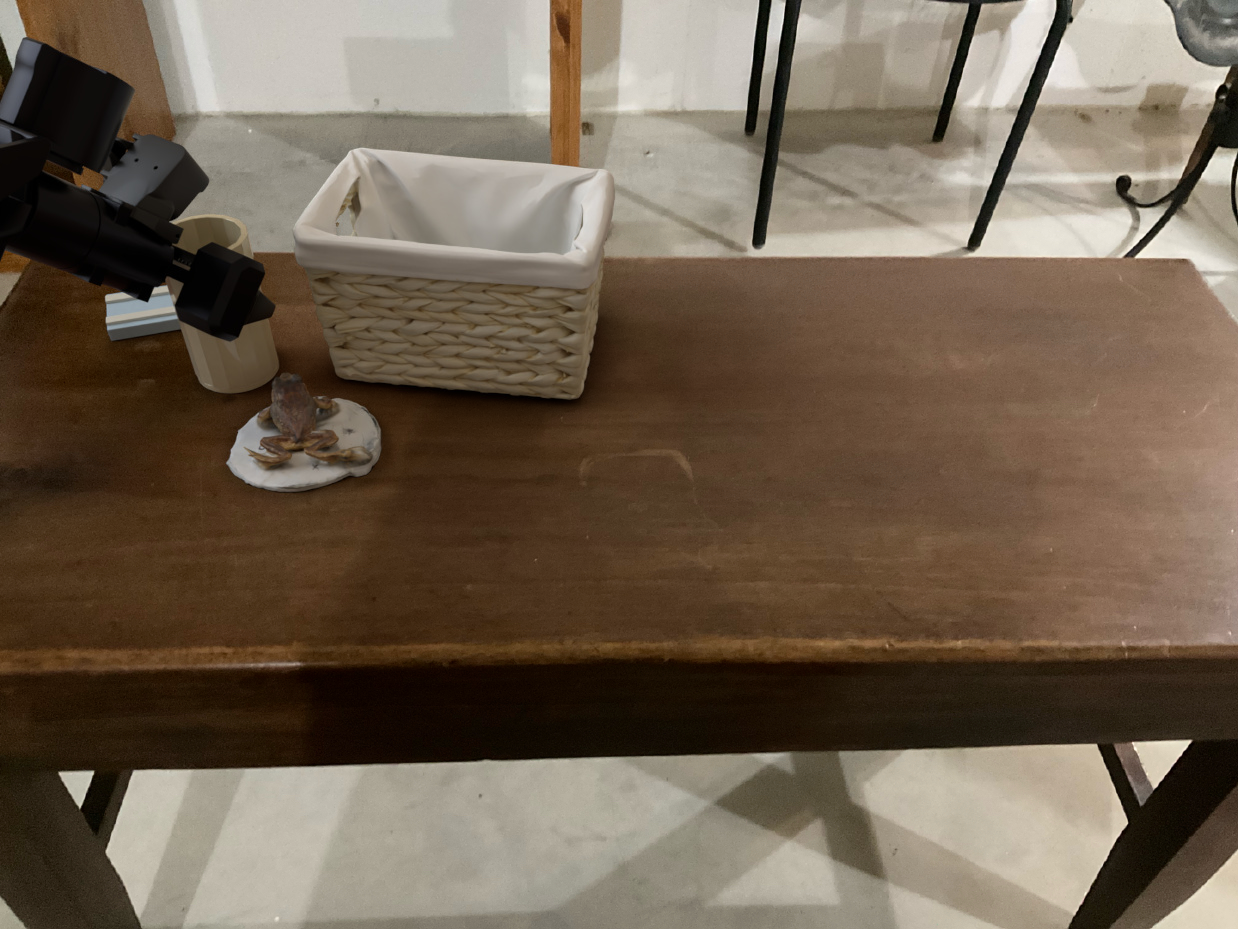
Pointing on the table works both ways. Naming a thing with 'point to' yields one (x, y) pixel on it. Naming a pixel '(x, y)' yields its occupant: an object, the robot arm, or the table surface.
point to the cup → (255, 348)
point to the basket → (459, 270)
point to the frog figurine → (304, 440)
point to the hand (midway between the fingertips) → (232, 293)
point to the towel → (140, 314)
